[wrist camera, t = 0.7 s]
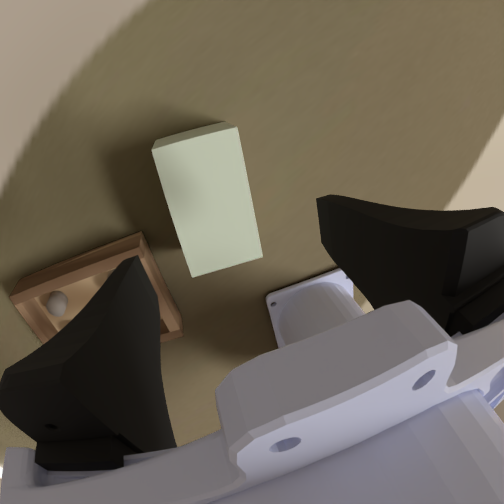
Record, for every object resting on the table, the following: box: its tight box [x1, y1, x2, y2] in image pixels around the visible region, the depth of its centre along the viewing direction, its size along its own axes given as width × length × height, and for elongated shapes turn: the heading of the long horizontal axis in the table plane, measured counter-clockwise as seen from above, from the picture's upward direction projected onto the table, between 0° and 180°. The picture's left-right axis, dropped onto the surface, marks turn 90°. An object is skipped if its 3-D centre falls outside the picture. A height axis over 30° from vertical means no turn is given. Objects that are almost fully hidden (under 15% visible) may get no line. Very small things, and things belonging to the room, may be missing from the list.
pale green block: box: [152, 122, 263, 278], centre depth 18 cm, size 4×8×4 cm, turn 11°
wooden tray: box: [9, 231, 184, 344], centre depth 21 cm, size 8×12×2 cm
